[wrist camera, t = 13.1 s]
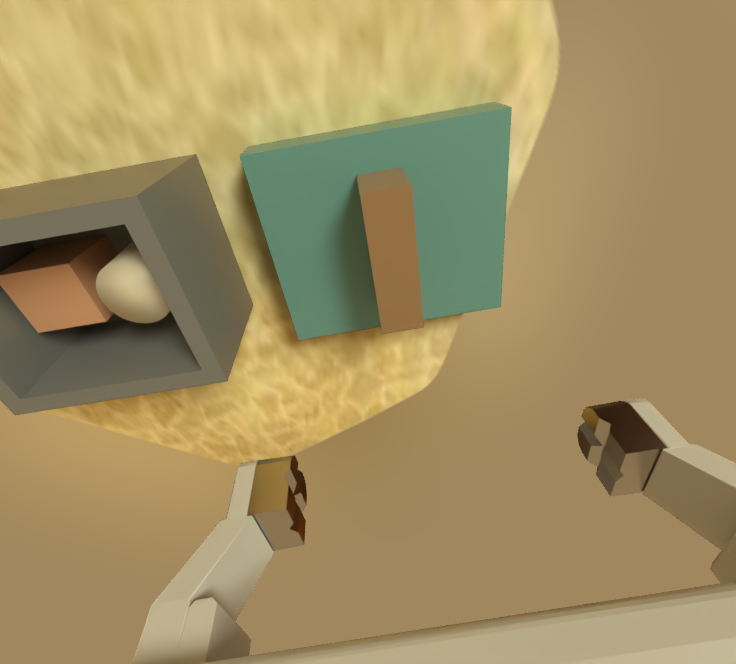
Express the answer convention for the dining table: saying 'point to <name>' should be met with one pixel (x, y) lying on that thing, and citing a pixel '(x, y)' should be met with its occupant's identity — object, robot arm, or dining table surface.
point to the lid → (386, 219)
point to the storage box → (115, 287)
